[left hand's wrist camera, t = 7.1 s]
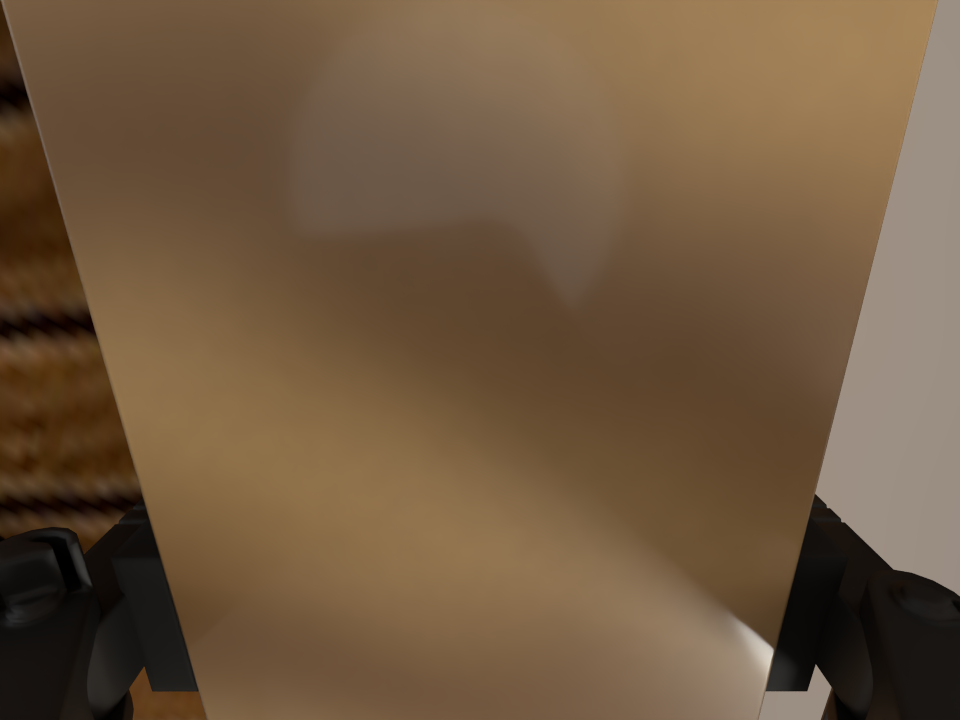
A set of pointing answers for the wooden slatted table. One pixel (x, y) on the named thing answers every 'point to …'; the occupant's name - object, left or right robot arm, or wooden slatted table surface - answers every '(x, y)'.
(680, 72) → the long beam
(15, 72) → the wooden slatted table surface
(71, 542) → the left robot arm
